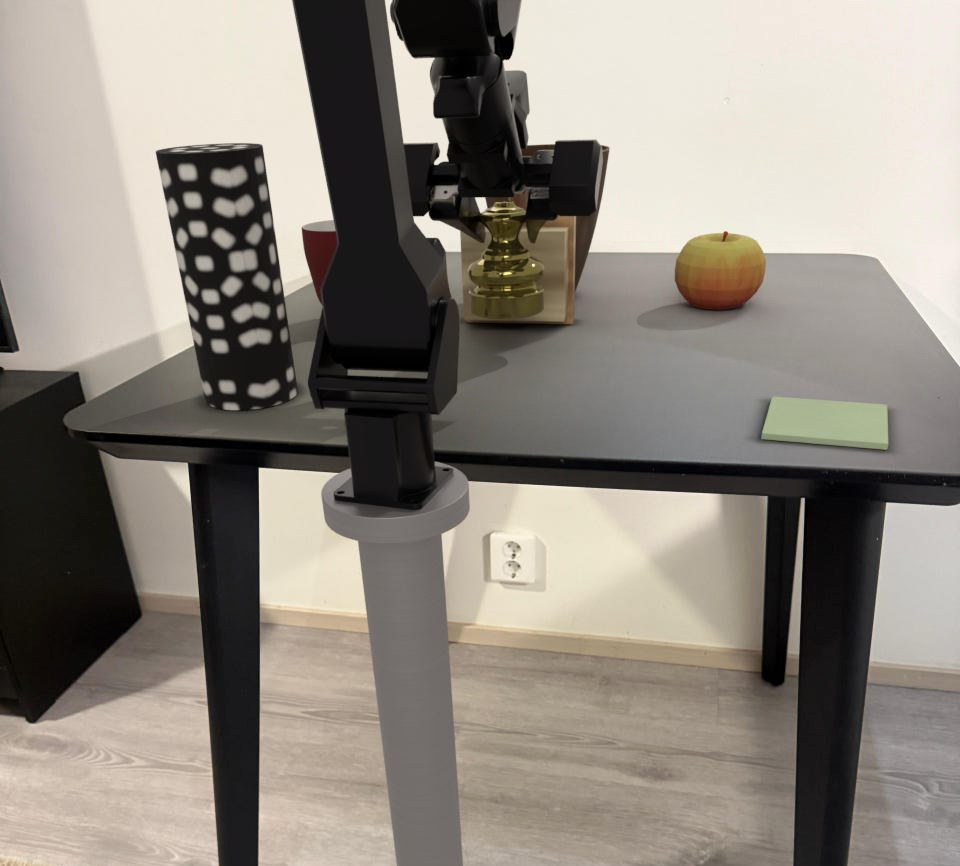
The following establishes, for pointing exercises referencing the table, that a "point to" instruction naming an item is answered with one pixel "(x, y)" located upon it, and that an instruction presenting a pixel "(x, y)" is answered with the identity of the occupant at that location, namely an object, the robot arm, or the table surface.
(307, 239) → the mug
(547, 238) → the wooden napkin holder
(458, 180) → the robot arm
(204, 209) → the spotted tube
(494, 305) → the brass chess piece
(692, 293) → the apple
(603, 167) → the flower pot
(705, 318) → the table surface
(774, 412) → the mat
